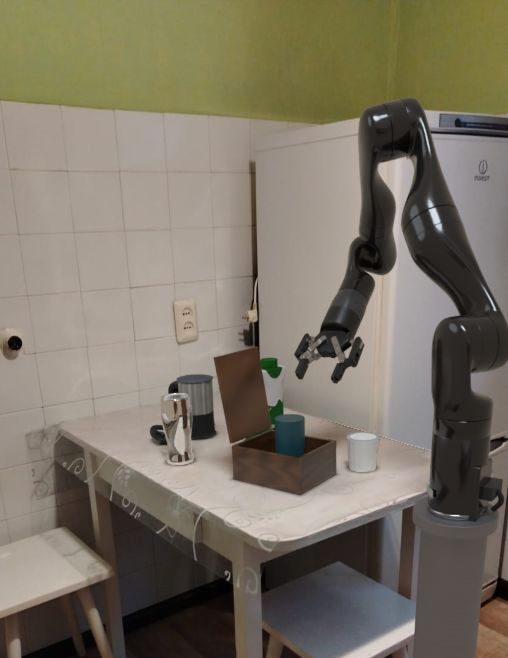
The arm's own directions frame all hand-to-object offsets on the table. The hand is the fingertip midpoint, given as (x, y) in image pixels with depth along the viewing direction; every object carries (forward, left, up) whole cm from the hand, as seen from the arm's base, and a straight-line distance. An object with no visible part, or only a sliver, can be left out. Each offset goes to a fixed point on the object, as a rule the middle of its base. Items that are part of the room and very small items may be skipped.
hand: (315, 379), depth 133 cm
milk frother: (+39, 0, -19) cm, 44 cm away
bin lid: (+11, +10, -2) cm, 15 cm away
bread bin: (+1, +10, -19) cm, 21 cm away
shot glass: (-10, -3, -19) cm, 21 cm away
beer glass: (+27, +14, -19) cm, 36 cm away
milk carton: (+20, -9, -19) cm, 29 cm away
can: (0, +10, -18) cm, 20 cm away
